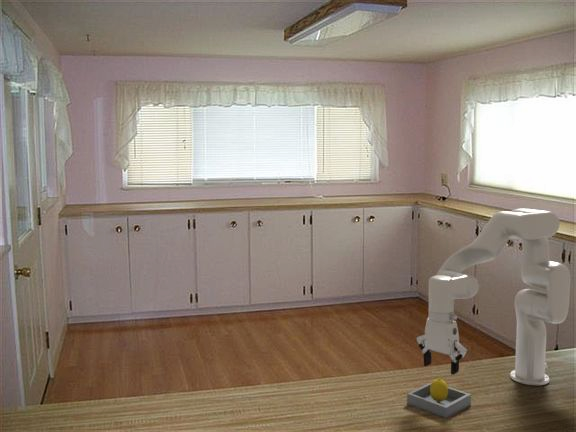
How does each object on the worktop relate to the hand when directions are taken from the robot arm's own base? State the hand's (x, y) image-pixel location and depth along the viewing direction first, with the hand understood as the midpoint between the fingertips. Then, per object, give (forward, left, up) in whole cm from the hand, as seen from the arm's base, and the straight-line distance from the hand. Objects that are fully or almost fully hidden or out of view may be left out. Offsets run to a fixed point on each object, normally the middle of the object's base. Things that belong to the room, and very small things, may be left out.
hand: (440, 369), depth 181 cm
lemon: (0, 0, -11) cm, 11 cm away
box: (+1, 0, -12) cm, 11 cm away
